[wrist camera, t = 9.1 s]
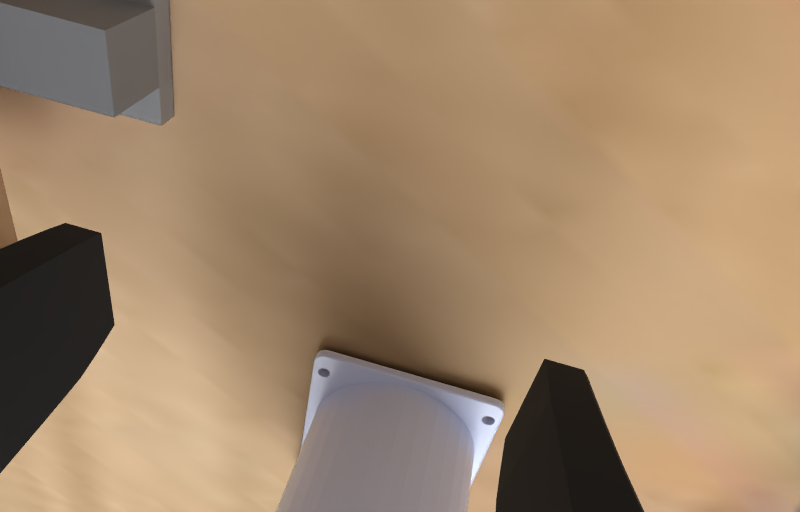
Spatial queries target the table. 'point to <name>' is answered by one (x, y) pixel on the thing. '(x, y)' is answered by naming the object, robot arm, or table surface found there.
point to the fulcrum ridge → (90, 54)
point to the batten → (5, 219)
